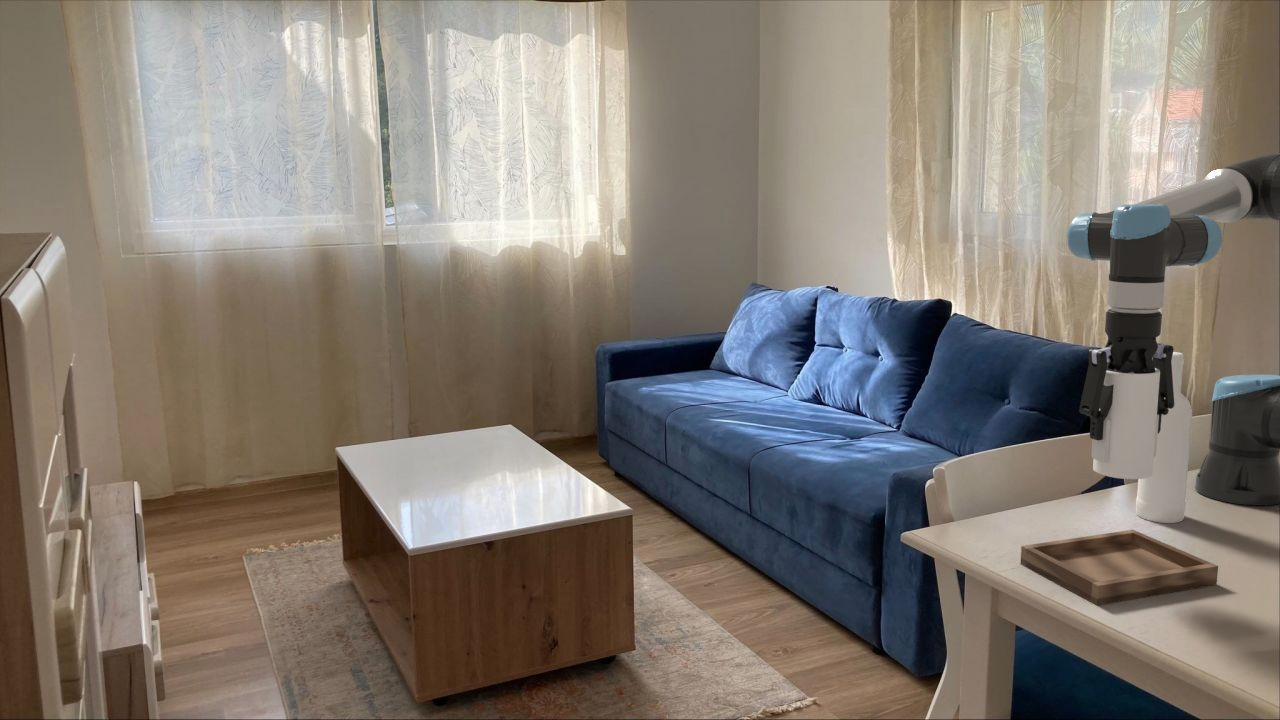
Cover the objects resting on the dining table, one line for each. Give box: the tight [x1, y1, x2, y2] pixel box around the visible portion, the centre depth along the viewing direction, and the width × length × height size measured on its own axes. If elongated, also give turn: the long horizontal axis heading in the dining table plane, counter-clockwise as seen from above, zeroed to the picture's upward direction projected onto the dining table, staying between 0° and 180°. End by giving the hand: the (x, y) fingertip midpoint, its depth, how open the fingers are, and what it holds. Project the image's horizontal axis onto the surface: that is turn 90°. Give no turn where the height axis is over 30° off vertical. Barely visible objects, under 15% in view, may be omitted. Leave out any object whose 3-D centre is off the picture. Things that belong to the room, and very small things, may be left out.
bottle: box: [1135, 351, 1193, 524], centre depth 182 cm, size 8×8×30 cm
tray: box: [1020, 529, 1219, 606], centre depth 158 cm, size 22×17×3 cm
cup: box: [1092, 368, 1160, 480], centre depth 154 cm, size 8×8×16 cm
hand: (1123, 457), depth 155 cm, fingers closed on cup, 8 cm apart
